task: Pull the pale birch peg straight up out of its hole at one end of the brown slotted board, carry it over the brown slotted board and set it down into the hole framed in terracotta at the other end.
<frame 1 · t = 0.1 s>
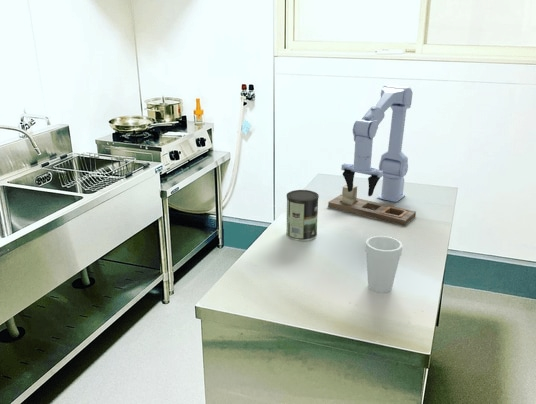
hand: (360, 193, 183), 10 cm above the worktop, tool pointing down, fingers open, 7 cm apart
peg: (348, 206, 198), resting in brown slotted board
foam cup: (379, 287, 144), on the worktop
coffee can: (301, 235, 175), on the worktop
brown slotted board: (370, 211, 193), on the worktop
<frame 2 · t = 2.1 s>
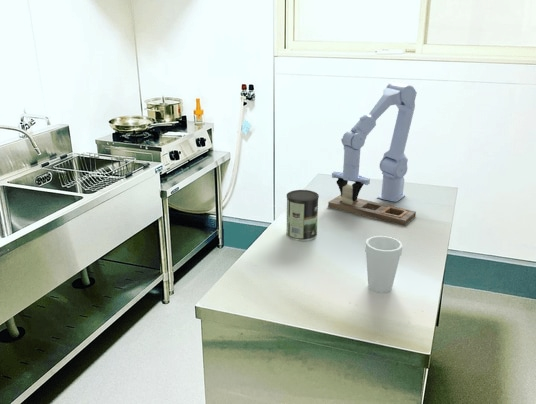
hand: (349, 199, 197), 3 cm above the worktop, tool pointing down, fingers closed on peg, 4 cm apart
peg: (348, 206, 198), resting in brown slotted board, touching gripper
everything else where it was.
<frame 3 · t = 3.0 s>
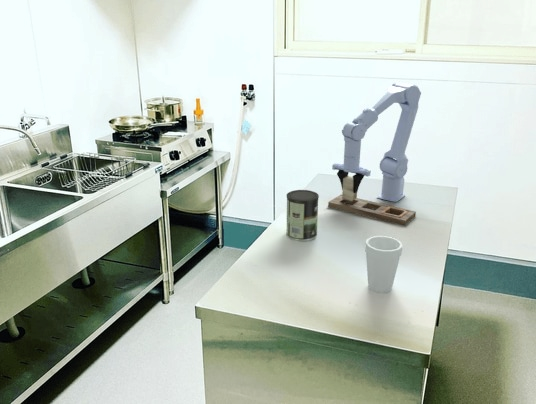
hand: (349, 191, 196), 6 cm above the worktop, tool pointing down, fingers closed on peg, 4 cm apart
peg: (349, 198, 197), point 3 cm above the worktop, touching gripper
everything else where it was.
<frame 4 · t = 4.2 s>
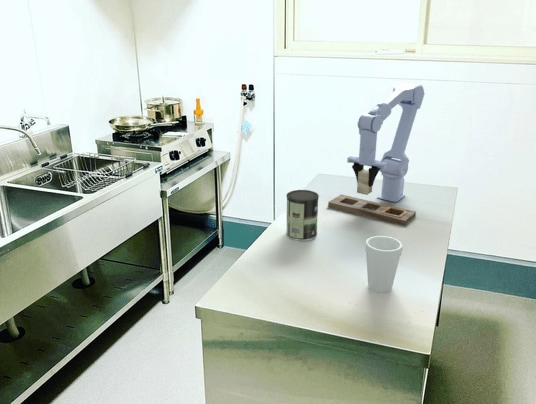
hand: (365, 184, 192), 10 cm above the worktop, tool pointing down, fingers closed on peg, 4 cm apart
peg: (364, 192, 193), point 7 cm above the worktop, touching gripper
everything else where it was.
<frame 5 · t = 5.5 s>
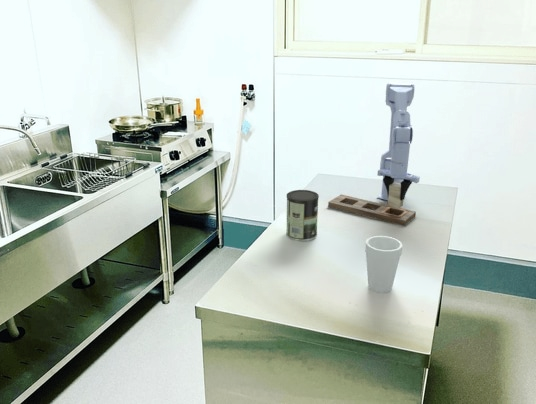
hand: (395, 198, 186), 7 cm above the worktop, tool pointing down, fingers closed on peg, 4 cm apart
peg: (395, 206, 187), point 4 cm above the worktop, touching gripper
everything else where it was.
when the fingers open (3 cm above the worktop, at t = 6.6 s): peg stays where it is, resting in brown slotted board.
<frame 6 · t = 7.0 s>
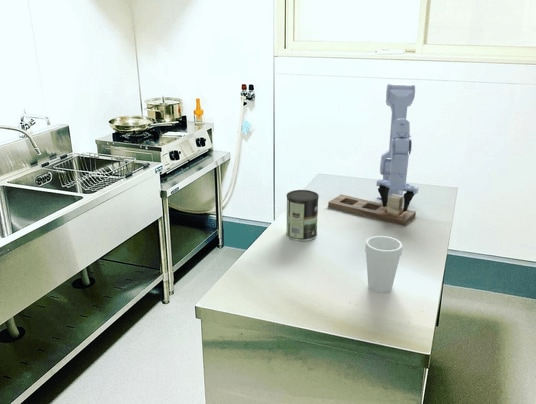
hand: (394, 208, 187), 3 cm above the worktop, tool pointing down, fingers open, 7 cm apart
peg: (393, 217, 189), resting in brown slotted board
everything else where it was.
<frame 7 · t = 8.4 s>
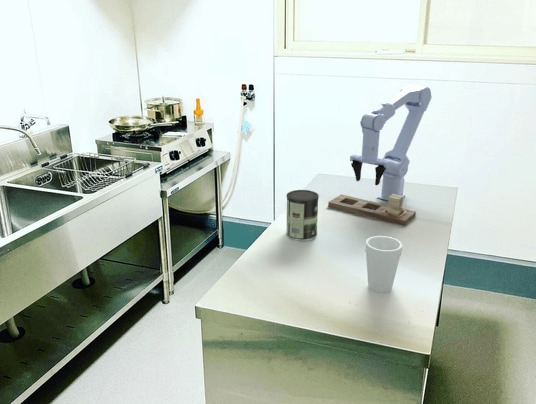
hand: (367, 182, 195), 9 cm above the worktop, tool pointing down, fingers open, 7 cm apart
nothing on the worktop moved.
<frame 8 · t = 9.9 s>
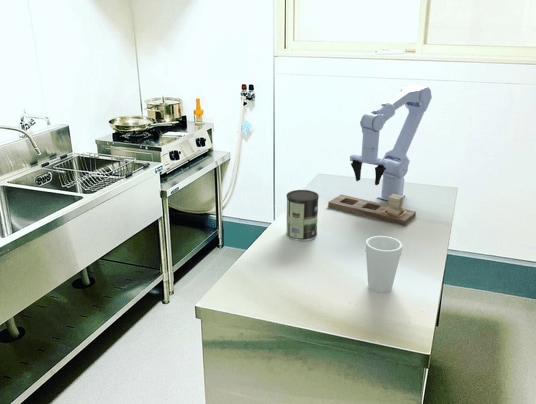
hand: (367, 182, 195), 9 cm above the worktop, tool pointing down, fingers open, 7 cm apart
nothing on the worktop moved.
at the end: peg 0.1 cm from the target spot on the brown slotted board, point 0.0 cm above the brown slotted board's base; peg tilted 0°; the gripper is holding nothing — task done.
